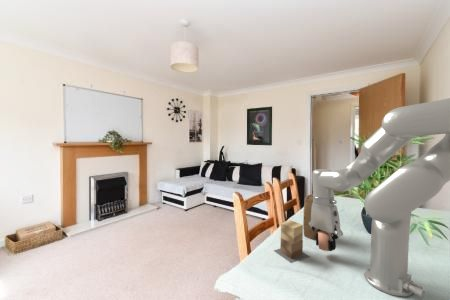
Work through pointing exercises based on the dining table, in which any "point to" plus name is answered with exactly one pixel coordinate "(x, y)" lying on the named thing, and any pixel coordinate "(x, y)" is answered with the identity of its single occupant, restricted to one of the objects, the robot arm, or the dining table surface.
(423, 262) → the dining table surface
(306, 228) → the block
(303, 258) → the mat
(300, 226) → the tower top
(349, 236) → the dining table surface
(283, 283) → the dining table surface
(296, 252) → the block
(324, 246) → the peach egg-shaped pebble
